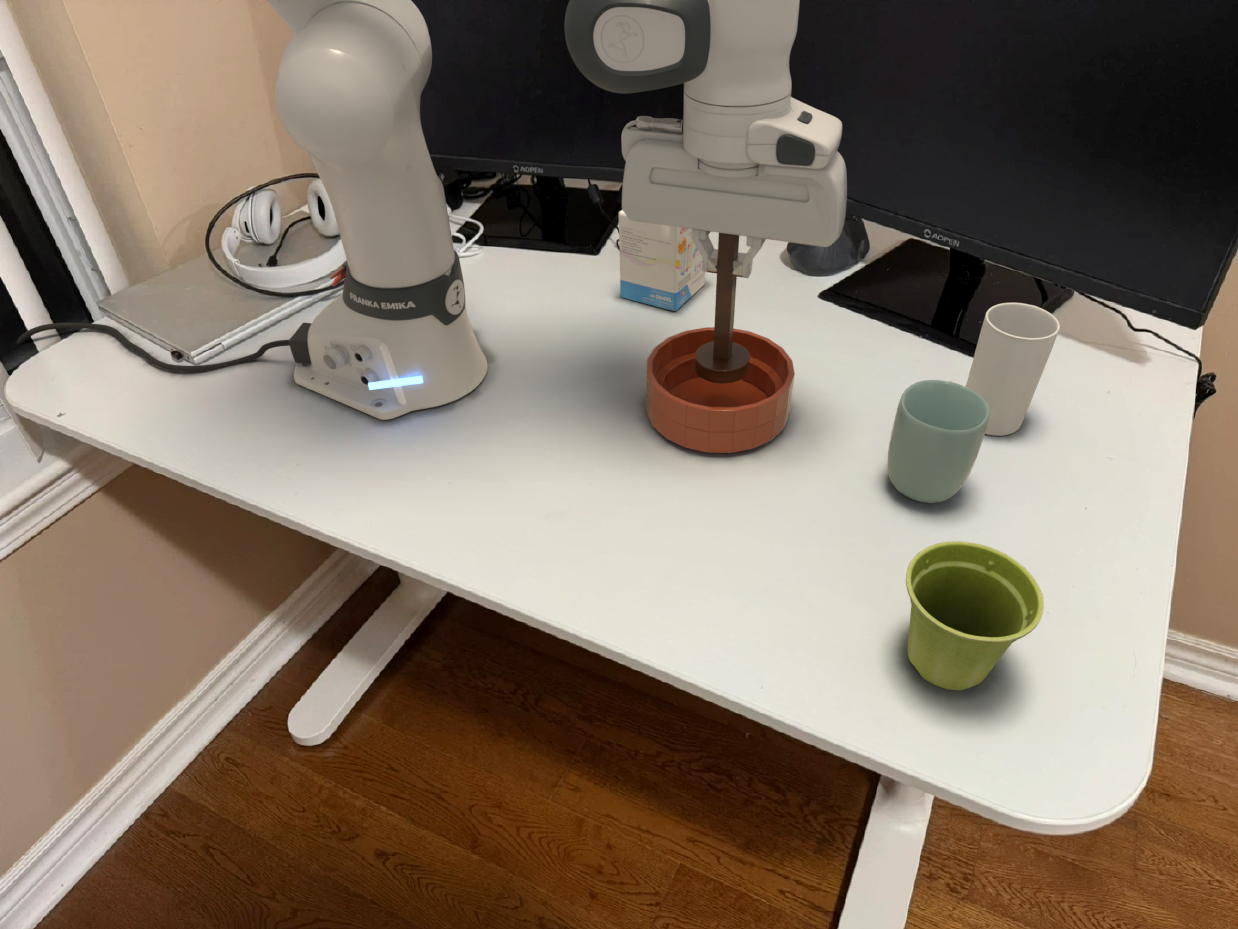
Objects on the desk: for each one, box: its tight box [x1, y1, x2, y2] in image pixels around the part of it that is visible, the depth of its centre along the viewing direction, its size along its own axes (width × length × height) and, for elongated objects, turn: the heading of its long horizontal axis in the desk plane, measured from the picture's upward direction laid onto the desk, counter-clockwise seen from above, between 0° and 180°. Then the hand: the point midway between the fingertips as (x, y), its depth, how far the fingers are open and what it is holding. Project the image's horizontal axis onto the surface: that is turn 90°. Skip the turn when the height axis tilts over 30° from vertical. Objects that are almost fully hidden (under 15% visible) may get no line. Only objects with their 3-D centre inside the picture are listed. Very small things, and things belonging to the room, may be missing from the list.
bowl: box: [645, 326, 796, 454], centre depth 90 cm, size 15×15×6 cm
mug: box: [965, 302, 1061, 437], centre depth 87 cm, size 10×7×12 cm, turn 145°
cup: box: [886, 379, 990, 504], centre depth 79 cm, size 8×8×10 cm
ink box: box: [618, 209, 706, 312], centre depth 107 cm, size 9×8×13 cm
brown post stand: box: [695, 233, 750, 384], centre depth 82 cm, size 6×6×18 cm
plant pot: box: [905, 540, 1045, 691], centre depth 64 cm, size 9×9×9 cm
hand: (727, 272), depth 81 cm, fingers closed on brown post stand
